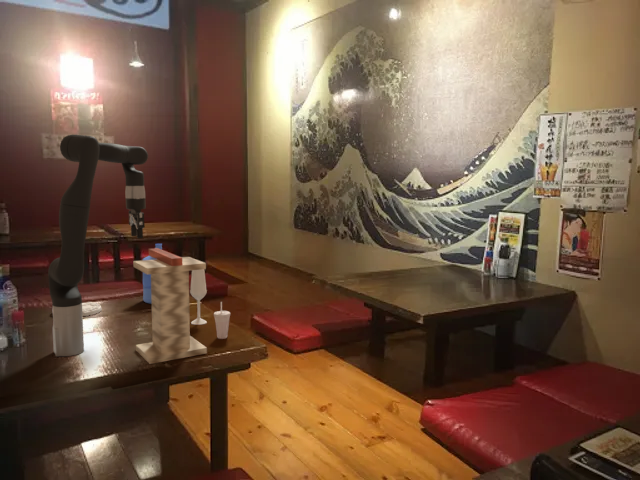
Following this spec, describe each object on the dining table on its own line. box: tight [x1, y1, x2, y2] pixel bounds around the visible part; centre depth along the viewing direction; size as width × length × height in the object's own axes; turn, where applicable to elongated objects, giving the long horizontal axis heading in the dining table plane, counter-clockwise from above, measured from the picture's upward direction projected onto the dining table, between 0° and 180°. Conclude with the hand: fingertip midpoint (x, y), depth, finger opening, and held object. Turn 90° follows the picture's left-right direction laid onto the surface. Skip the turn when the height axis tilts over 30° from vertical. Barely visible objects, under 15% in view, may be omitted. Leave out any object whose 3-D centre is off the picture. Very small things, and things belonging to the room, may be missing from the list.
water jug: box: [142, 243, 163, 305], centre depth 259 cm, size 16×16×28 cm
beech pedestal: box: [133, 256, 208, 365], centre depth 185 cm, size 20×16×32 cm
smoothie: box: [213, 301, 231, 340], centre depth 203 cm, size 6×6×14 cm
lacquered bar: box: [148, 247, 182, 266], centre depth 187 cm, size 4×26×2 cm, turn 34°
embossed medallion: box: [52, 301, 102, 317], centre depth 237 cm, size 20×20×3 cm
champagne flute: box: [189, 269, 208, 325], centre depth 222 cm, size 7×7×24 cm
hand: (137, 237), depth 215 cm, fingers open, 8 cm apart
